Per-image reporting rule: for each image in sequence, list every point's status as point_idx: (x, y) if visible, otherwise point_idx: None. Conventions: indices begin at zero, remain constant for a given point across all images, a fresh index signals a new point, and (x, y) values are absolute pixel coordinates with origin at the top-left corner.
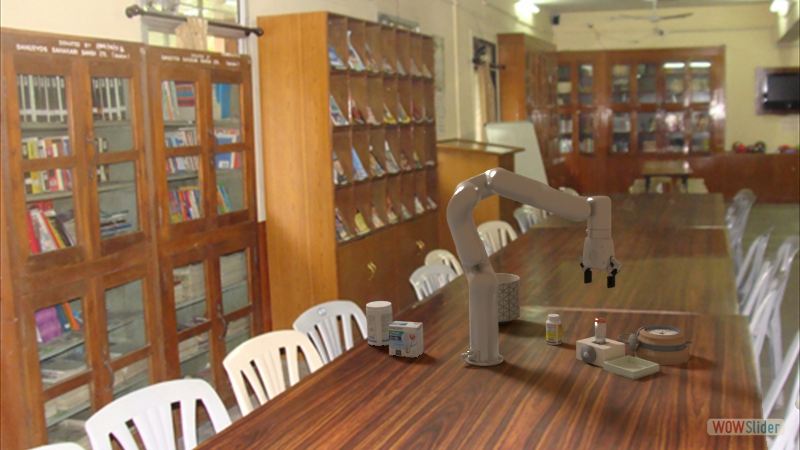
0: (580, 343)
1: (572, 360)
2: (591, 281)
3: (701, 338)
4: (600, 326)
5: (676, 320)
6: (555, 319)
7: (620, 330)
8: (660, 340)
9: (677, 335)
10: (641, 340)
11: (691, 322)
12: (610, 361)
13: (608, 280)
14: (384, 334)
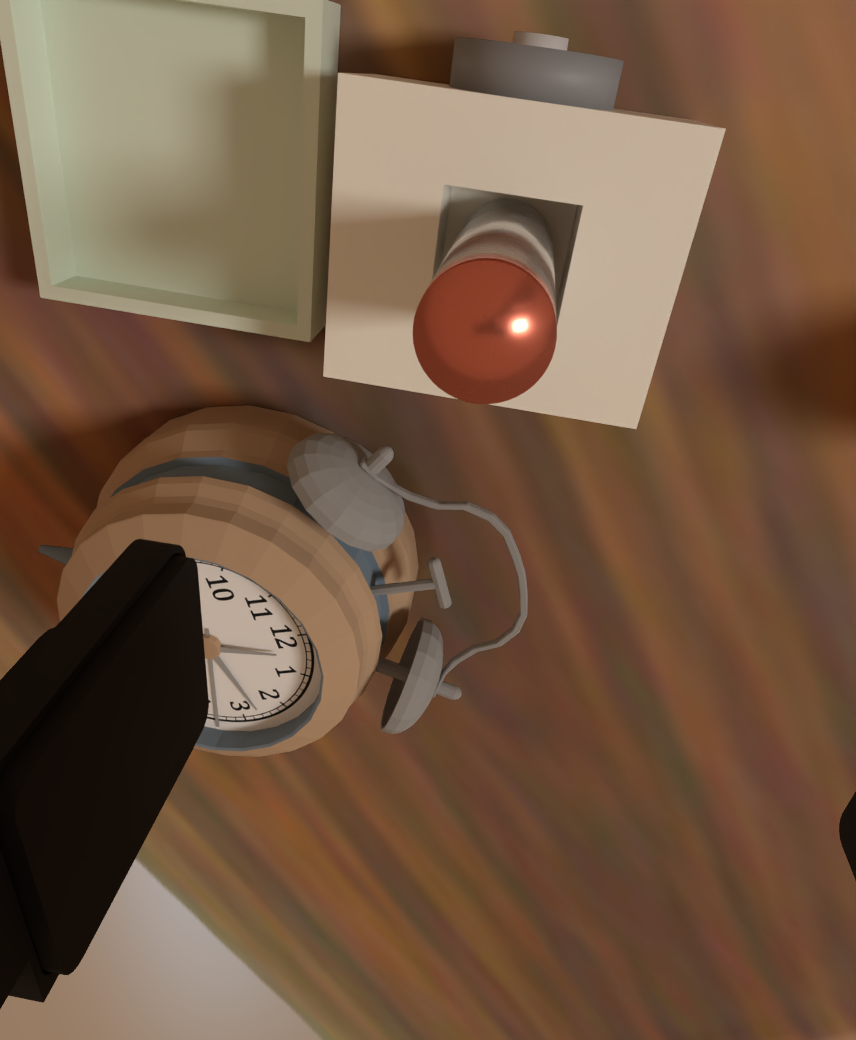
0: (660, 119)
1: (696, 45)
2: (848, 833)
3: (325, 868)
4: (453, 258)
5: (562, 1016)
6: None
7: (723, 821)
8: (114, 518)
9: None
10: (274, 505)
11: (494, 1013)
12: (304, 89)
13: (18, 671)
14: None
